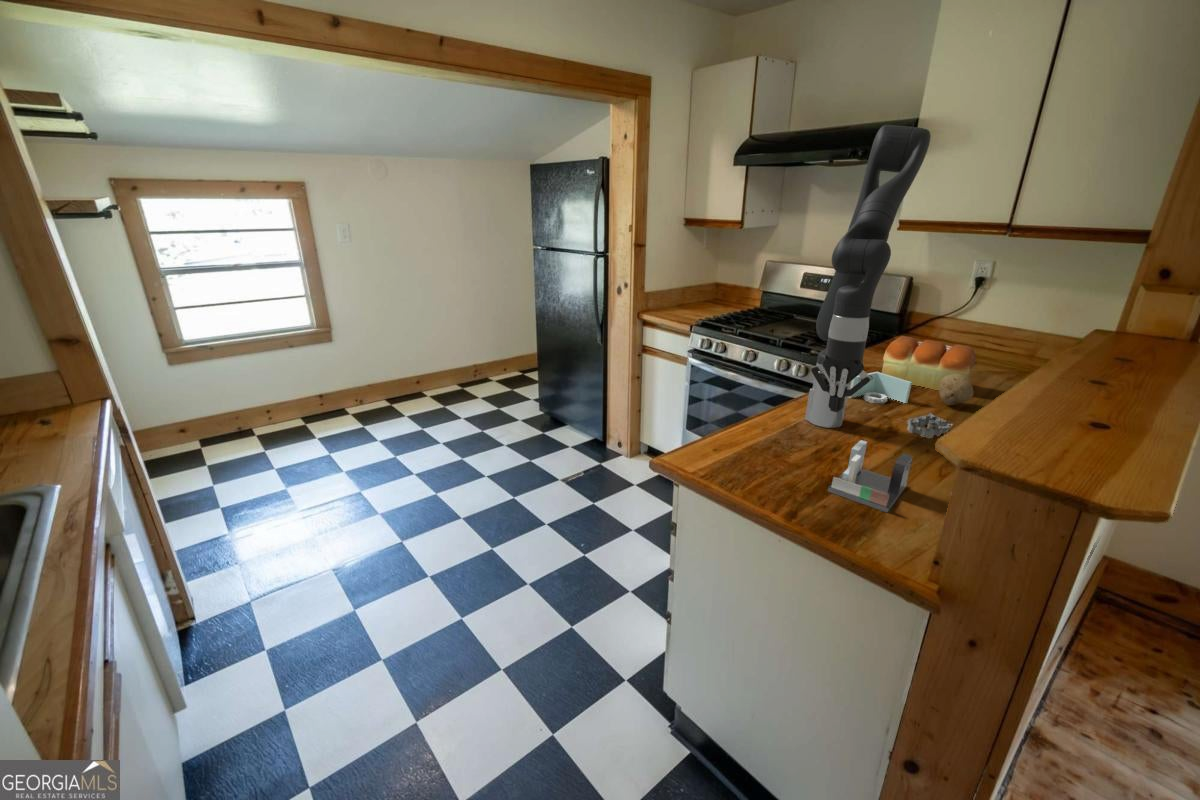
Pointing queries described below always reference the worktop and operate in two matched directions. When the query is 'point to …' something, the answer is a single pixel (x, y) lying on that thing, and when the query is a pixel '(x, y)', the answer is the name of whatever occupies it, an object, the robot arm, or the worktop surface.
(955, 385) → the natural sponge
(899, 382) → the l-shaped corner panel
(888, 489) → the stand
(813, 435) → the worktop surface
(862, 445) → the block
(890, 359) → the bread
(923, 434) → the jagged gray rock
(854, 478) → the bar
